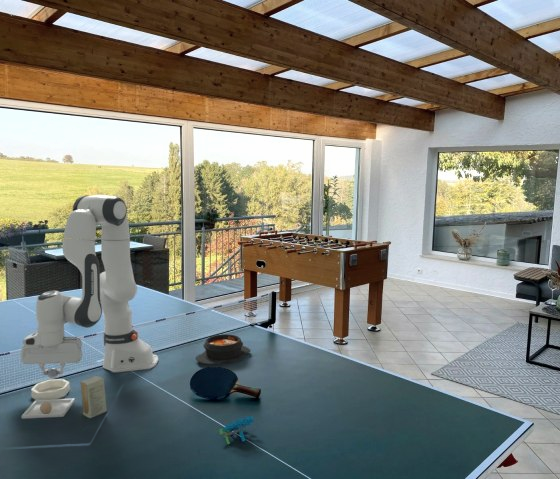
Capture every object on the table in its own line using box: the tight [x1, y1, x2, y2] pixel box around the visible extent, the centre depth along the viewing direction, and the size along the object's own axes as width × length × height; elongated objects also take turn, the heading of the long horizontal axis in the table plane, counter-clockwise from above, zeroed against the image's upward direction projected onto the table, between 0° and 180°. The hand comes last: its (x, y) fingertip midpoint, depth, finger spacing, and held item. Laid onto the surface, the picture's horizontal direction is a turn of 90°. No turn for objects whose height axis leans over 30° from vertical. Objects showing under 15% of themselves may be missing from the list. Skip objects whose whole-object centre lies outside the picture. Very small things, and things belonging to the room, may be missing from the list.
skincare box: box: [80, 375, 107, 419], centre depth 162 cm, size 6×4×12 cm
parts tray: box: [20, 397, 76, 419], centre depth 165 cm, size 13×11×2 cm
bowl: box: [30, 378, 71, 401], centre depth 177 cm, size 12×12×4 cm
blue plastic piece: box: [218, 416, 255, 445], centre depth 146 cm, size 11×6×10 cm
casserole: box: [195, 334, 252, 366], centre depth 211 cm, size 25×19×8 cm
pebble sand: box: [40, 402, 52, 414], centre depth 163 cm, size 4×4×4 cm
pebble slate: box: [46, 367, 58, 379], centre depth 176 cm, size 4×4×4 cm
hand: (53, 374), depth 176 cm, fingers closed on pebble slate, 4 cm apart
